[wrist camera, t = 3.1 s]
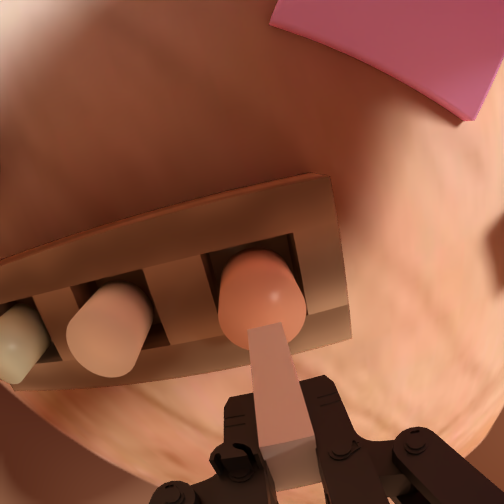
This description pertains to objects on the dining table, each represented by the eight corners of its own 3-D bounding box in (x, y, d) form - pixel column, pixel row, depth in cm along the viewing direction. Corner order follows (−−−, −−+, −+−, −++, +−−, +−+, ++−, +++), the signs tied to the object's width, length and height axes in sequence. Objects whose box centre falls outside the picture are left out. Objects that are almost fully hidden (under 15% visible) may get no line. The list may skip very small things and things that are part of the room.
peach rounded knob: (84, 287, 21) (54, 317, 17) (140, 273, 21) (118, 304, 17) (108, 342, 23) (86, 380, 18) (162, 332, 23) (148, 373, 18)
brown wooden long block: (-11, 264, 24) (-40, 281, 19) (310, 172, 24) (329, 176, 19) (34, 364, 28) (14, 391, 23) (333, 309, 28) (352, 338, 23)
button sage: (1, 307, 21) (-30, 333, 17) (36, 299, 21) (3, 327, 17) (23, 353, 23) (-3, 384, 18) (59, 349, 23) (34, 383, 18)
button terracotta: (212, 256, 21) (207, 285, 17) (283, 239, 21) (298, 263, 17) (230, 318, 23) (230, 359, 18) (296, 303, 23) (311, 340, 18)
